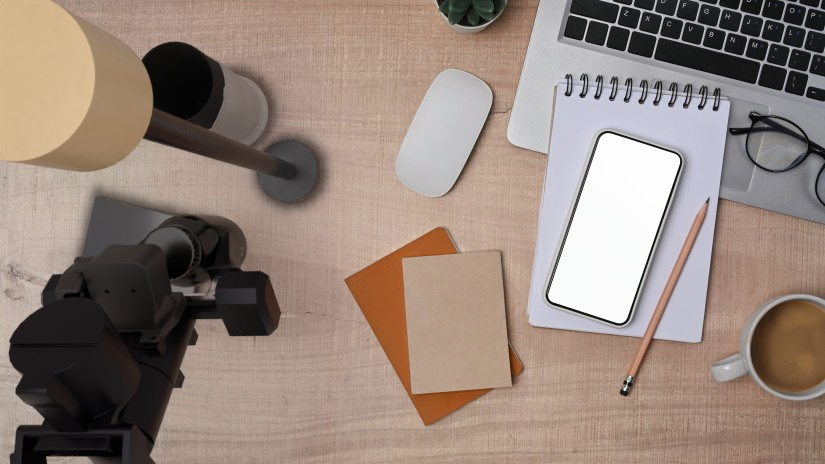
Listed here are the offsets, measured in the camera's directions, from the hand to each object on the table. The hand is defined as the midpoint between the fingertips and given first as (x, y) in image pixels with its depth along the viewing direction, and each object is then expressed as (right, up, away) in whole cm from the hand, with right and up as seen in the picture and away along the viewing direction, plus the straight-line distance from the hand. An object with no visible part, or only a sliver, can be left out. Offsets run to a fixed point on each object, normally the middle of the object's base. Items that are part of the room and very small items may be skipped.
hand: (192, 235), depth 57 cm
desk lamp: (+7, +7, +13) cm, 16 cm away
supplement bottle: (0, -1, +7) cm, 7 cm away
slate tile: (-10, -2, +14) cm, 17 cm away
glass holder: (-3, +14, +13) cm, 20 cm away
